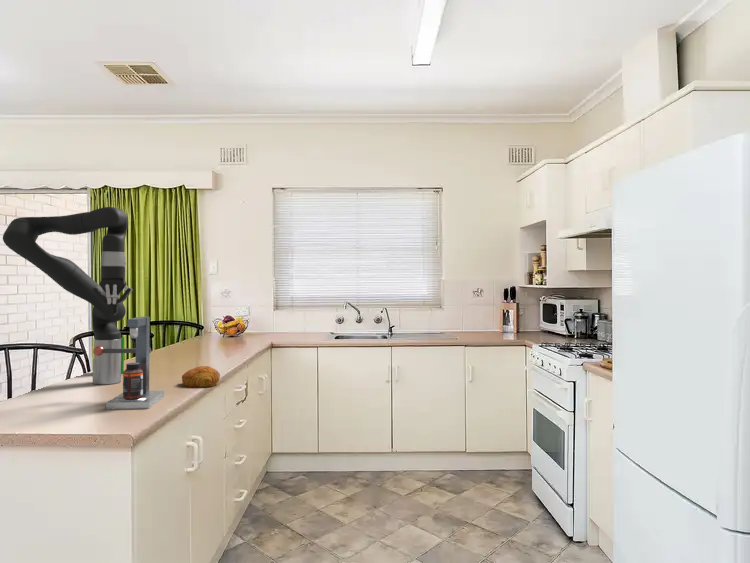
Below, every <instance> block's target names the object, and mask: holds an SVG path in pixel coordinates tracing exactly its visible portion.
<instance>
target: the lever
mask: <svg viewBox="0 0 750 563" xmlns="http://www.w3.org/2000/svg"><path fill="white" fill-rule="evenodd" d="M92 353H93V355H94V356H95V355H96V356H102V355H103V354H104V353H124V354H136V348H124V349H104V348H103V347H102V346H96V347H95V346H94V348H93V350H92ZM151 353H152V348H151V346H150V347H149V355H151Z"/></svg>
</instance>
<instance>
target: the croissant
mask: <svg viewBox="0 0 750 563" xmlns="http://www.w3.org/2000/svg"><path fill="white" fill-rule="evenodd" d="M220 378H221V375H220V372H219V371H218V370H216V369H215V368H214V367H212V366H209V365H208V366H207V365H205V366H204V365H201V366H196V367H194V368H191V369H189V370H187V371H186V372H184V373H183V374H182V375H181V381H182V385H184V386H185V387H189V388H207V387H208V388H210V387H214V386H215V385H217V384H218V383H219V381H220Z"/></svg>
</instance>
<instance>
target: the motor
mask: <svg viewBox="0 0 750 563" xmlns="http://www.w3.org/2000/svg"><path fill="white" fill-rule="evenodd" d="M121 349H125V337H122V336H121ZM124 359H125V353H121V375H123V372H124V371H125V370H124V368H125V367H124V366H125V362H124V361H125V360H124Z"/></svg>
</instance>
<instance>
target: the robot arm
mask: <svg viewBox="0 0 750 563" xmlns="http://www.w3.org/2000/svg"><path fill="white" fill-rule="evenodd" d="M128 226H129V218H128V215H127V213H126V212H125V211H124V210H122V209H120V208H117V207H114V206H104V207H100V208H97V209H92V210H90V211H85V212H79V213H73V214H67V215H58V216H24V217H23V216H22V217H17V218H14V219H13V220H11V222H10V223H9V224H8V225H7V227H6V229H5V231H4V232H3V234H2V241H3V243H4V245H5V246H6V247H7V248H8V249H10V250H11V251H13V252H14V253H15V254H17V255H18V256H20V257H21V258H24V259H25V260H26V261H28V262H29V263H30V264H32V265H34V266H35V267H36V268H37V269H38V270H40V271H42V272H43V273H44V274H46V276H48V277H49V278H50V279H51V280H52V281H54V282H55V283H56V284H57V285H58V286H60V287H61V288H62V289H63V290H65V291H67V292H68V293H69V294H72V295H74V296H76V297H78V298H80V299H82V300H84V301H85V302H88V303H89V304H91V306H92V310H91V312H92V313H91V316H92V317H91V318H92V331H93V334H94V348H95V347H96V346H102V347H103V348H104V349H121V337H122V332H121V331H120V330H119V328H118V327H117V325H116V322H119V321H121V320H123V319H124V318H125V315H126V307H125V305H124V304H125V303H123V302H125V300H126V299H127V298H129V296H130V295H131V293H133V288H132V287H129V286H128V285H127V282H126V256H125V255H126V254H125V250H126V249H125V248H126V247H125V239H126V235H127V230H128ZM105 228H107V230H106V234H105V235H104V236H102V241H101V247H102V248H101V251H102V252H101V260H100V263H101V264H100V265H101V266H100V268H101V269H100V278H101V279H100V282H99V284H98V283H97V282H96V281H95V279H93V278H92V277H91V276H90V275H88V274H87V273H86V272H85V271H84V270H83V269H82V268H81V267H80V266H79V265H77V264H76V263H75V262H73V261H72V260H70V259H69V258H65V257H62V256H57V255H54V254H51V253H50V252H48V251H46V250H45V249H44V248H43V247H42V246H40V245H39V244H38V243H37V242H36V241H37V240H38V238H39V236H42V235H45V234H49V233H60V234H64V235H73V236H74V235H83V234H88V233H89V234H90V233H93V232H97V231H98V230H100V229H105ZM122 292H123V293H122ZM121 294H122V295H121ZM121 375H122V374H121V353H104V354H103V355H102V356H96V355H94V358H93V360H92V384H95V385H115V384H117V383H120V382H121V379H122V378H121V377H122V376H121Z"/></svg>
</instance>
